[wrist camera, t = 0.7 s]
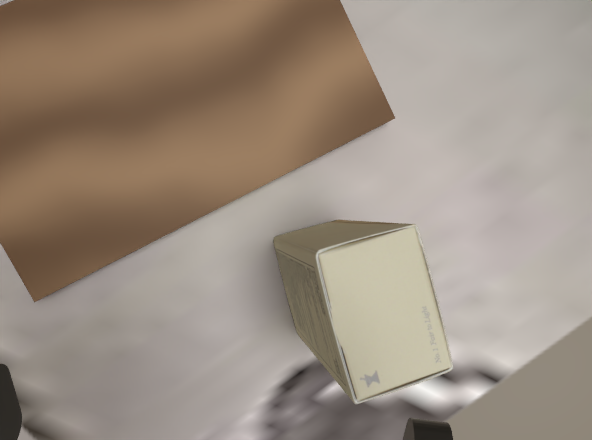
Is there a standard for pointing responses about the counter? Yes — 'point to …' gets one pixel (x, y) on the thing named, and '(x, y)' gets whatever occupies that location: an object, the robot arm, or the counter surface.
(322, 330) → the skincare box
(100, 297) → the counter surface
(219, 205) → the walnut board
